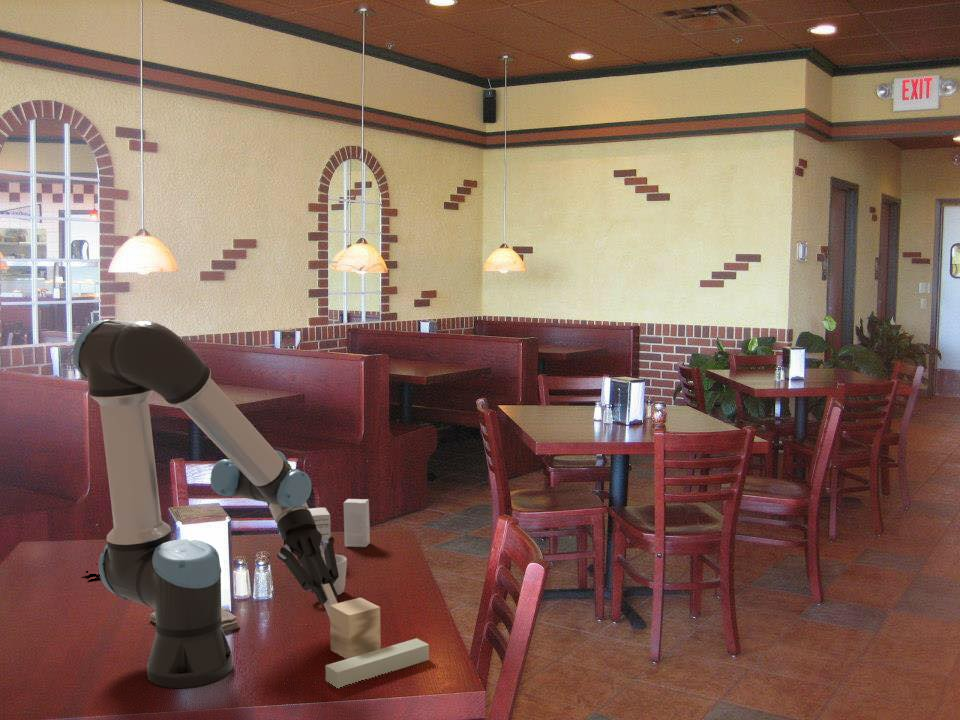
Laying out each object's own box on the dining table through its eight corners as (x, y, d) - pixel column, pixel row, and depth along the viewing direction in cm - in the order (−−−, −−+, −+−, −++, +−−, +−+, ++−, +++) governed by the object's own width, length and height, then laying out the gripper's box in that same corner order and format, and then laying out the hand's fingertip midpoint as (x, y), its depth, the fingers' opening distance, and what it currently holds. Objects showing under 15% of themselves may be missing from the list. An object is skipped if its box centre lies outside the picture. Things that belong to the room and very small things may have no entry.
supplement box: (298, 557, 251) (297, 508, 249) (327, 554, 253) (326, 506, 251) (301, 566, 244) (300, 516, 242) (331, 563, 246) (330, 513, 244)
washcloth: (192, 646, 195) (192, 630, 195) (146, 623, 207) (146, 609, 207) (244, 629, 204) (243, 614, 203) (196, 608, 216) (196, 595, 215)
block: (349, 661, 186) (348, 615, 185) (330, 650, 192) (329, 605, 191) (380, 652, 191) (380, 607, 190) (361, 641, 196) (360, 597, 195)
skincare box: (370, 543, 263) (369, 499, 262) (366, 547, 259) (365, 503, 258) (348, 542, 264) (347, 498, 263) (343, 546, 260) (343, 502, 258)
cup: (320, 605, 216) (319, 570, 215) (295, 598, 221) (294, 563, 220) (354, 592, 224) (354, 558, 224) (330, 585, 229) (329, 551, 228)
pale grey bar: (337, 688, 174) (336, 672, 174) (325, 681, 177) (325, 665, 177) (428, 659, 187) (428, 644, 186) (416, 653, 190) (416, 638, 190)
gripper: (313, 521, 215) (356, 616, 204) (259, 532, 207) (300, 632, 196) (325, 502, 211) (370, 598, 200) (270, 512, 202) (313, 614, 191)
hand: (335, 615), depth 198 cm, fingers closed
